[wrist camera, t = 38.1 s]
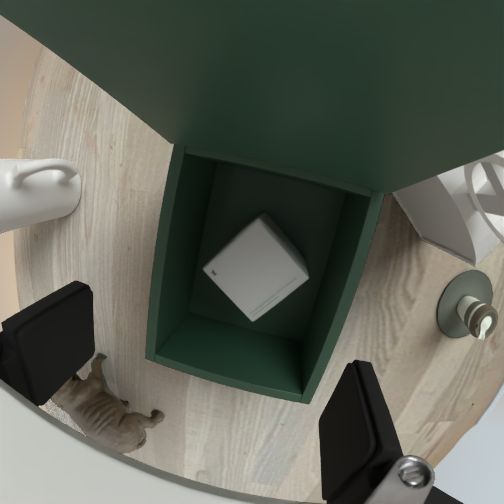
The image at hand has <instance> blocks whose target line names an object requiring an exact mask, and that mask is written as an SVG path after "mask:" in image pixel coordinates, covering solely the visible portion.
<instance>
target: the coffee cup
mask: <svg viewBox="0 0 504 504" xmlns="http://www.w3.org/2000/svg"><path fill="white" fill-rule="evenodd" d="M492 296H493V291H492V285H491V282H490V280H489V278H488V277H487V276H486V274H484V273H483V272H481V271H478V270H470V271H466V272H464V273H462V274H460V275H459V276H457V277H456V278H455V279H454V280H453V281H452V282H451V283H450V284H449V286H448V287H447V288H446V290H445V292H444V294H443V296H442V298H441V300H440V303H439V307H438V313H437V318H438V323H439V327H440V329H441V330H442V332H443V333H444V334H445V335H447V336H449V337H452V338H460V337H464V336H467V335H468V334H470V333H471V334H472V335H473V336H474V337H476V338H477V339H485V338H486V337H488V336H489V335H490V334H491V333H492V332H493V331H494V329H495V327H496V325H497V322H498V314H497V311H496V310H495V309H494V308H493V307H492V306H491V303H492Z"/></svg>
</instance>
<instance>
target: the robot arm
mask: <svg viewBox="0 0 504 504" xmlns="http://www.w3.org/2000/svg"><path fill="white" fill-rule="evenodd" d="M1 324H2V328H3V331H2V332H0V504H321V503H308V502H298V501H289V500H282V499H275V498H268V497H262V496H256V495H251V494H245V493H240V492H236V491H231V490H227V489H223V488H218V487H215V486H211V485H207V484H203V483H200V482H196V481H193V480H190V479H186V478H183V477H180V476H177V475H174V474H171V473H168V472H165V471H163V470H160V469H157V468H155V467H152V466H149V465H147V464H144V463H142V462H139V461H137V460H135V459H132V458H130V457H128V456H125V455H123V454H121V453H119V452H117V451H114V450H112V449H110V448H108V447H106V446H104V445H102V444H100V443H98V442H96V441H94V440H92V439H90V438H89V437H87V436H85V435H83V434H81V433H80V432H78V431H76V430H74V429H72V428H71V427H69V426H67V425H66V424H64V423H62V422H61V421H59V420H57V419H56V418H54V417H53V416H51V415H50V414H48V413H46V412H45V411H43V410H42V409H40V408H39V407H38V406H39V405H41V406H42V405H44V404H45V403H46V402H47V401H48V400H49V399H50V398H51V397H52V396H53V395H54V394H55V393H56V392H57V391H58V390H59V389H60V388H61V387H62V386H63V385H64V384H65V383H66V382H67V381H68V380H69V379H70V378H71V377H72V376H73V375H74V374H75V373H76V372H77V371H78V370H79V369H80V368H81V367H82V366H83V365H84V364H85V363H86V362H87V361H88V360H89V359H91V358H92V356H93V355H94V352H95V341H94V321H93V292H92V291H91V290H90V287H89V285H87V284H84V283H82V282H79V281H73V282H71V283H70V284H68V285H66V286H64V287H62V288H60V289H59V290H57V291H55V292H53V293H51V294H50V295H48V296H46V297H44V298H42V299H41V300H39V301H37V302H35V303H34V304H32V305H30V306H28V307H27V308H25V309H23V310H22V311H20V312H18V313H16V314H15V315H13V316H11V317H10V318H8V319H6V320H5V321H3V322H2V323H1ZM319 439H320V457H321V481H322V499H323V500H327V504H463V503H462V502H460V501H458V500H456V499H455V498H453V497H451V496H449V495H448V494H446V493H444V492H443V491H441V490H440V489H438V488H436V487H434V486H433V484H434V480H435V475H434V471H433V468H432V467H431V465H430V464H429V463H428V462H427V461H425V460H424V459H423V458H420V457H418V456H413V455H408V456H403V453H402V449H401V446H400V443H399V440H398V437H397V434H396V430H395V427H394V424H393V421H392V418H391V415H390V413H389V410H388V407H387V404H386V402H385V399H384V396H383V394H382V391H381V388H380V385H379V383H378V380H377V377H376V374H375V372H374V369H373V366H372V364H371V363H370V362H366V361H360V360H354V361H353V362H352V363H348V364H347V365H346V367H345V369H344V372H343V374H342V376H341V378H340V380H339V382H338V384H337V386H336V388H335V390H334V392H333V394H332V396H331V398H330V400H329V401H328V403H327V405H326V407H325V409H324V411H323V413H322V414H321V417H320V419H319Z"/></svg>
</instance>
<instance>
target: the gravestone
mask: <svg viewBox="0 0 504 504" xmlns="http://www.w3.org/2000/svg"><path fill="white" fill-rule="evenodd" d="M485 172H486V174H487V176H488V178H489V180H490V181H487V179H486V175H485ZM392 194H393V196H394V197H395V199H396V200H397V202H398V203H399V205H400V206H401V208H402V209H403V211H404V212H405V214H406V215H407V217H408V219H409V220H410V222H411V223H412V225H413V227H414V228H415V230H416V231H417V233H418V235H419V236H420V238H421V240H423V241H425V242H427V243H429V244H431V245H433V246H435V247H437V248H439V249H441V250H443V251H445V252H447V253H449V254H451V255H453V256H455V257H457V258H459V259H461V260H463V261H465V262H467V263H469V264H471V265H472V266H474V267H476V266H477V265H478V264H479V263H480V262H481V261H482V260H483V259H484V258H485V257H486V256H487V255H488V254H489V253H490V252H491V251H492V250H493V249H494V248H495V247H496V246H497V245H498V243H499V242H500V240H501V241H502V242H503V243H504V150H503V151H501V152H498V153H495V154H493V155H490V156H487V157H485V158H482V159H479V160H477V161H474V162H471V163H469V164H466V165H463V166H461V167H458V168H455V169H453V170H450V171H447V172H445V173H442V174H440V175H437V176H434V177H432V178H429V179H426V180H424V181H421V182H419V183H416V184H413V185H411V186H408V187H405V188H403V189H400V190H398V191H395V192H392Z"/></svg>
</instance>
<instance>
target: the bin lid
mask: <svg viewBox="0 0 504 504" xmlns="http://www.w3.org/2000/svg"><path fill="white" fill-rule="evenodd" d="M0 15H2V16H3V17H5V18H6V19H7V20H9V21H10V22H12V23H13V24H15V25H16V26H18V27H19V28H20V29H22V30H23V31H25V32H26V33H28V34H29V35H30V36H32V37H33V38H34V39H36V40H37V41H39V42H40V43H41V44H43V45H44V46H46V47H47V48H48V49H50V50H51V51H52V52H54V53H55V54H57V55H58V56H59V57H61V58H62V59H63V60H65V61H66V62H67V63H69V64H70V65H71V66H73V67H74V68H75V69H77V70H78V71H79V72H81V73H82V74H83V75H85V76H86V77H87V78H89V79H90V80H91V81H93V82H94V83H95V84H96V85H98V86H99V87H100V88H102V89H103V90H104V91H106V92H107V93H108V94H109V95H111V96H112V97H113V98H115V99H116V100H117V101H118V102H120V103H121V104H122V105H123V106H125V107H126V108H127V109H129V110H130V111H131V112H132V113H134V114H135V115H136V116H137V117H139V118H140V119H141V120H142V121H144V122H145V123H146V124H147V125H149V126H150V127H151V128H152V129H154V130H155V131H156V132H157V133H158V134H160V135H161V136H162V137H163V138H165V139H166V140H167V141H168V142H170V143H171V144H178V145H184V146H191V147H197V148H203V149H208V150H214V151H220V152H225V153H230V154H235V155H240V156H245V157H250V158H255V159H259V160H264V161H268V162H273V163H277V164H281V165H285V166H290V167H294V168H298V169H302V170H306V171H310V172H313V173H317V174H321V175H325V176H328V177H332V178H335V179H339V180H342V181H346V182H349V183H353V184H356V185H359V186H362V187H366V188H369V189H372V190H375V191H378V192H381V193H384V194H390V193H392V192H395V191H398V190H400V189H403V188H405V187H408V186H411V185H413V184H416V183H419V182H421V181H424V180H426V179H429V178H432V177H434V176H437V175H440V174H442V173H445V172H447V171H450V170H453V169H455V168H458V167H461V166H463V165H466V164H469V163H471V162H474V161H477V160H479V159H482V158H485V157H487V156H490V155H493V154H495V153H498V152H501V151H503V150H504V0H0Z"/></svg>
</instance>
